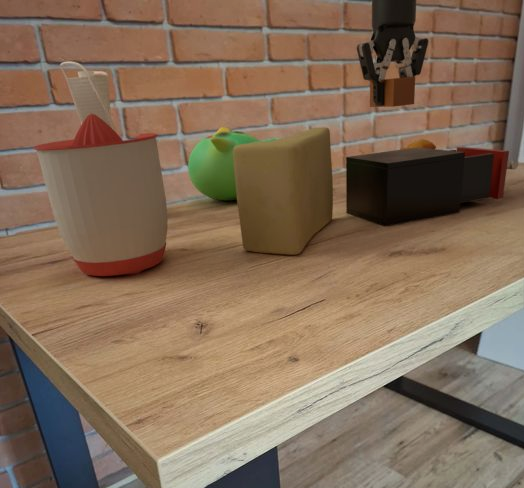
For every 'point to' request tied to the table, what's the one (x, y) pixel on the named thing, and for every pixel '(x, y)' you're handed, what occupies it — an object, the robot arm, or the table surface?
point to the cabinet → (404, 185)
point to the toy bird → (217, 163)
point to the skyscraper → (90, 94)
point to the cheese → (284, 191)
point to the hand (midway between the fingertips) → (391, 103)
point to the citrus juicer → (107, 198)
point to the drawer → (484, 173)
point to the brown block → (396, 92)
